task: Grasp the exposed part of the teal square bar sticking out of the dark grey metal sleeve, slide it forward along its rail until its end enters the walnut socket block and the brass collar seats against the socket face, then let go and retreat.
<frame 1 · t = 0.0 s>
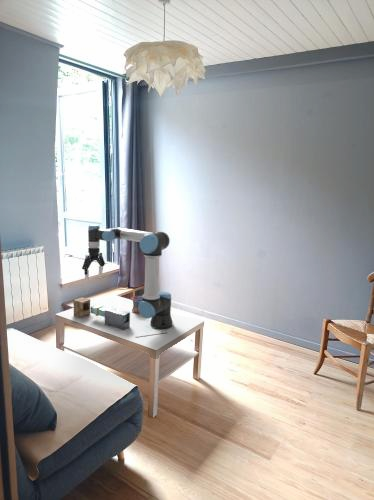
hand: (93, 276, 260), 28 cm above the table, fingers open, 13 cm apart
teal square bar: (108, 313, 251), point 7 cm above the table, slide at 0.0 cm
sleeve: (117, 325, 248), on the table
socket: (82, 315, 264), on the table
mug: (139, 311, 277), on the table
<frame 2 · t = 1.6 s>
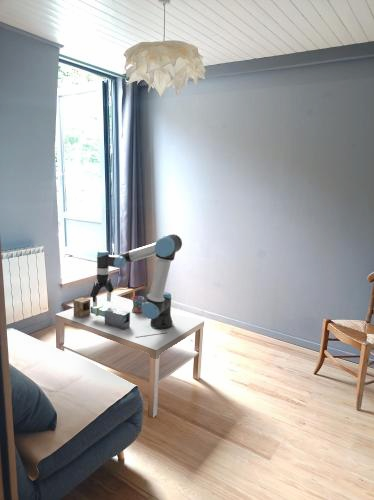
hand: (102, 303, 252), 13 cm above the table, fingers open, 13 cm apart
nothing on the table moved.
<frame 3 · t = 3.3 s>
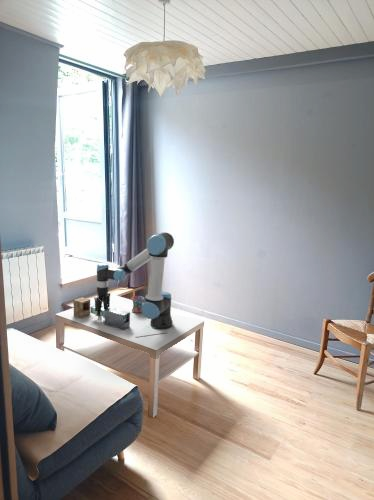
hand: (102, 319, 254), 2 cm above the table, fingers closed on teal square bar, 4 cm apart
teal square bar: (108, 313, 251), point 7 cm above the table, slide at 0.0 cm, touching gripper
everything else where it was.
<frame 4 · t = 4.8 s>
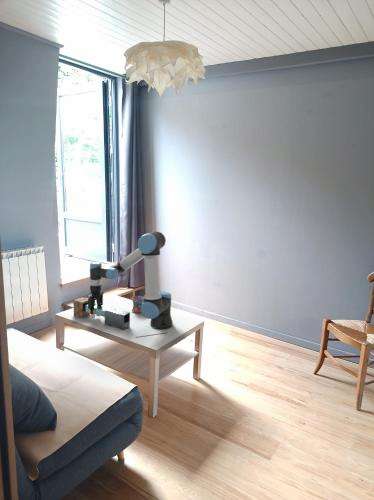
hand: (95, 317, 257), 2 cm above the table, fingers closed on teal square bar, 4 cm apart
teal square bar: (101, 311, 254), point 7 cm above the table, slide at 6.2 cm, touching gripper
everything else where it was.
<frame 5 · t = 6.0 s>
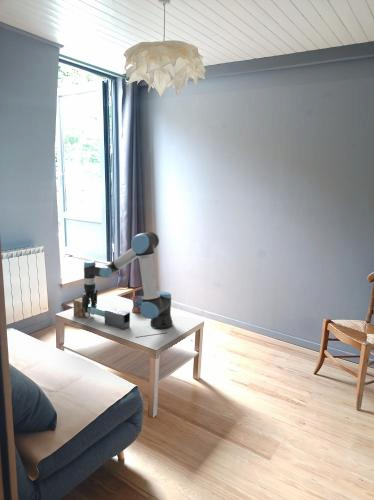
hand: (89, 315, 260), 2 cm above the table, fingers closed on teal square bar, 4 cm apart
teal square bar: (95, 309, 256), point 7 cm above the table, slide at 11.5 cm, touching gripper, socket
everything else where it was.
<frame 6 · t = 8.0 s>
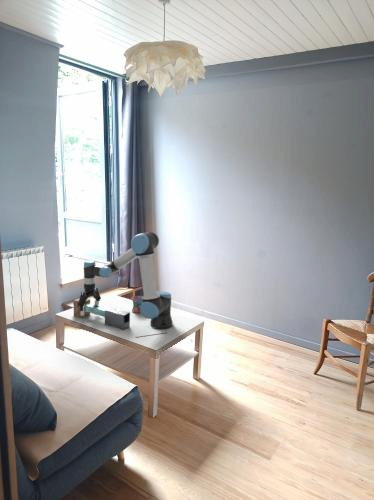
hand: (89, 312, 259), 4 cm above the table, fingers open, 13 cm apart
teal square bar: (95, 309, 256), point 7 cm above the table, slide at 11.5 cm, touching socket
everything else where it was.
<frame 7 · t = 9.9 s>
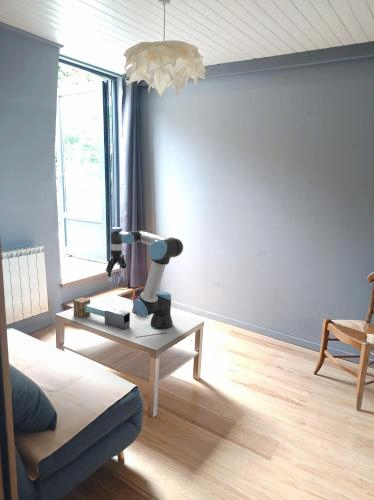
hand: (116, 279, 263), 27 cm above the table, fingers open, 13 cm apart
nothing on the table moved.
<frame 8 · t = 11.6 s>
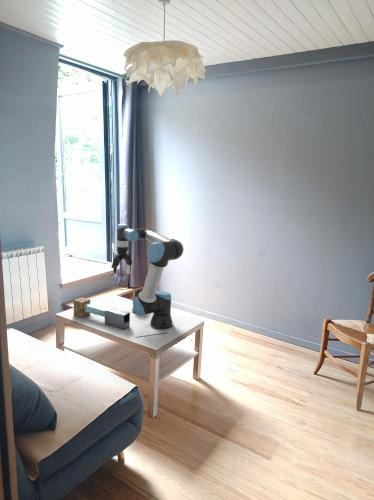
hand: (122, 275, 265), 29 cm above the table, fingers open, 13 cm apart
nothing on the table moved.
at the end: teal square bar slide at 11.5 cm; the gripper is holding nothing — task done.
